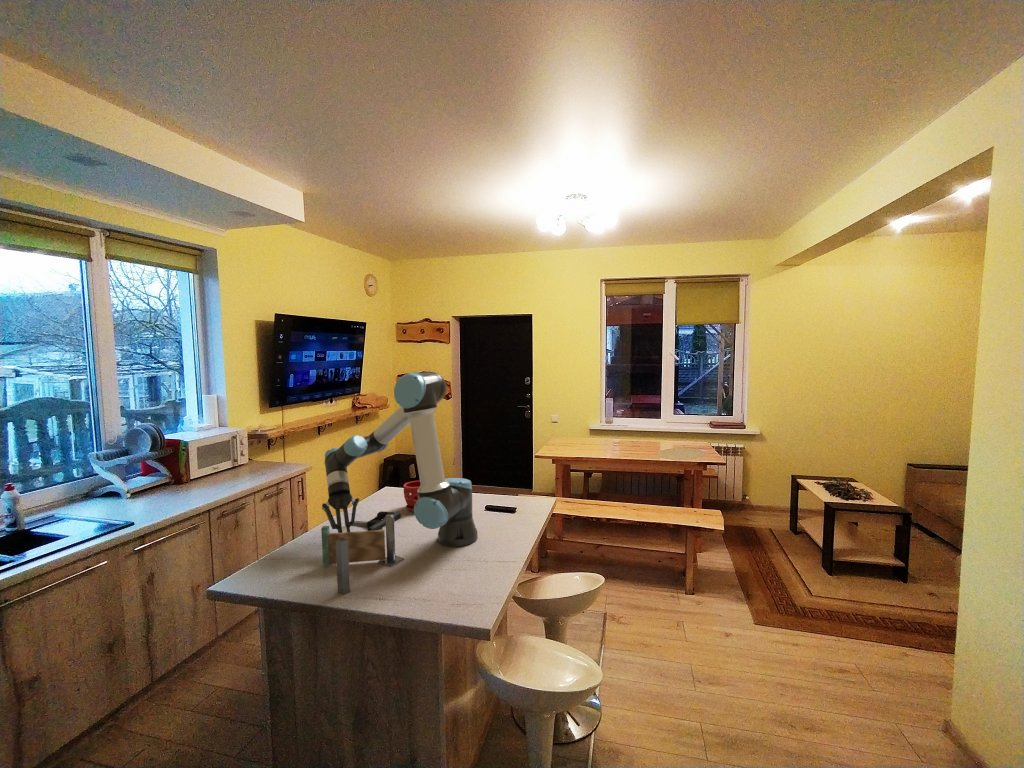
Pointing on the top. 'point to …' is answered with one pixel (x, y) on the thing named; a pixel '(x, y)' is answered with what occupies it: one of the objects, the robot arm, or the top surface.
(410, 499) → the plant pot
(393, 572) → the top surface
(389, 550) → the hinge post
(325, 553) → the wooden board
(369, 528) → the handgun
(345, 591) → the post
